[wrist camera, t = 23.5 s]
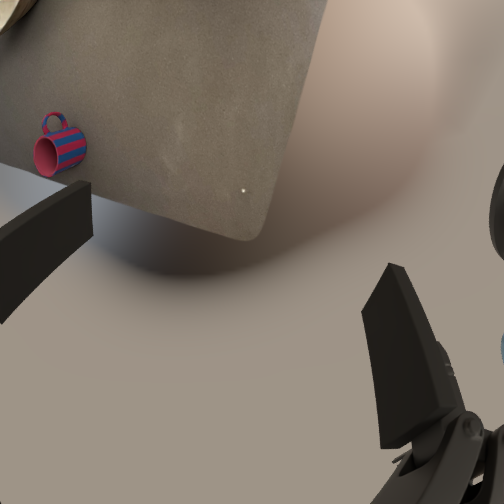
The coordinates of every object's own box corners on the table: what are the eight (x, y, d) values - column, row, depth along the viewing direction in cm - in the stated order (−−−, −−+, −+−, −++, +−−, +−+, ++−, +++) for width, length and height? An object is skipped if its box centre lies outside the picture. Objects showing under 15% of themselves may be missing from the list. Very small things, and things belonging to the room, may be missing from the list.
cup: (61, 164, 39) (35, 177, 34) (59, 110, 34) (30, 117, 28) (87, 165, 39) (60, 177, 33) (86, 106, 34) (56, 111, 28)
